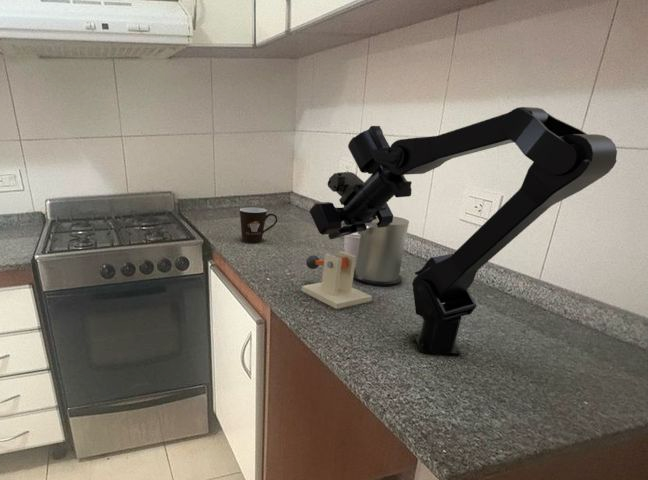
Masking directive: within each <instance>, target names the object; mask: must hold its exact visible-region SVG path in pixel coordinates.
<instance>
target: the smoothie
mask: <svg viewBox="0 0 648 480" xmlns="http://www.w3.org/2000/svg"><path fill="white" fill-rule="evenodd" d="M360 236H361V235H359V234H358V232H357V233H353V234H349V235H346V236H343V245H344V247H343V249H344V251H343V252H346V253H348V254H351V255H354V256H356V262H355V269H356V264H357V257H358V250H359V243H360Z"/></svg>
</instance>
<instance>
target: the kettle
mask: <svg viewBox="0 0 648 480" xmlns="http://www.w3.org/2000/svg"><path fill="white" fill-rule="evenodd" d="M376 218H377V219H376V220H373V221H372V222H371V223H365V225H366V227H367V229H366V230H365V231H360V232H358V234H359V235H361V236H360V243H359V250H358V257H357V264H356V268H355V269H354V276H353V281H355V282H356V283H359V284H362V285H364V286H369V287H377V288H393V287H397V286H399V285H401V284H402V282H403V277H402V276H401V275H400V273H401V266H402V262H403V257H404V251H405V246H406V240H407V235H408V228H409V223H410V221H409V220H408V219H407V218H403V217H399V216H394V215H393V221H392V223H390V224H389V225H388V226H387V227H380V228H378V227H377V223H378V222H379V219H378V217H377V216H376Z"/></svg>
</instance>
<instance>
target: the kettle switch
mask: <svg viewBox="0 0 648 480" xmlns="http://www.w3.org/2000/svg"><path fill="white" fill-rule="evenodd" d="M339 258H342V263H341V269H345V268H348V259H347V257H339ZM305 264H306V266H307V268H308V269H311V270H315V269H318V268H319V266H324V259H320V258H319V256H317V255H314V254H313V255H310V256H308V257H307V258H306V262H305Z"/></svg>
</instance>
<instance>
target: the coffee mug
mask: <svg viewBox="0 0 648 480" xmlns="http://www.w3.org/2000/svg"><path fill="white" fill-rule="evenodd" d="M267 212H268V210H267V209H265V208H262V207H241V208H240V209H239V219H240V231H241V241H242V243H246V244H260V243H262V241H263V235H264V233H266V232H267V231H269V230H270V229H272V228H273V227H274V226H275V225H276V224H277V222H278V216H277V215H276V214H275V213H268V214H267ZM270 216H272V217H274V219H275V221H274V223H273V224H271V225H270V226H269V227H267V228H265V223H266V220H268V218H269V217H270Z"/></svg>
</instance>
